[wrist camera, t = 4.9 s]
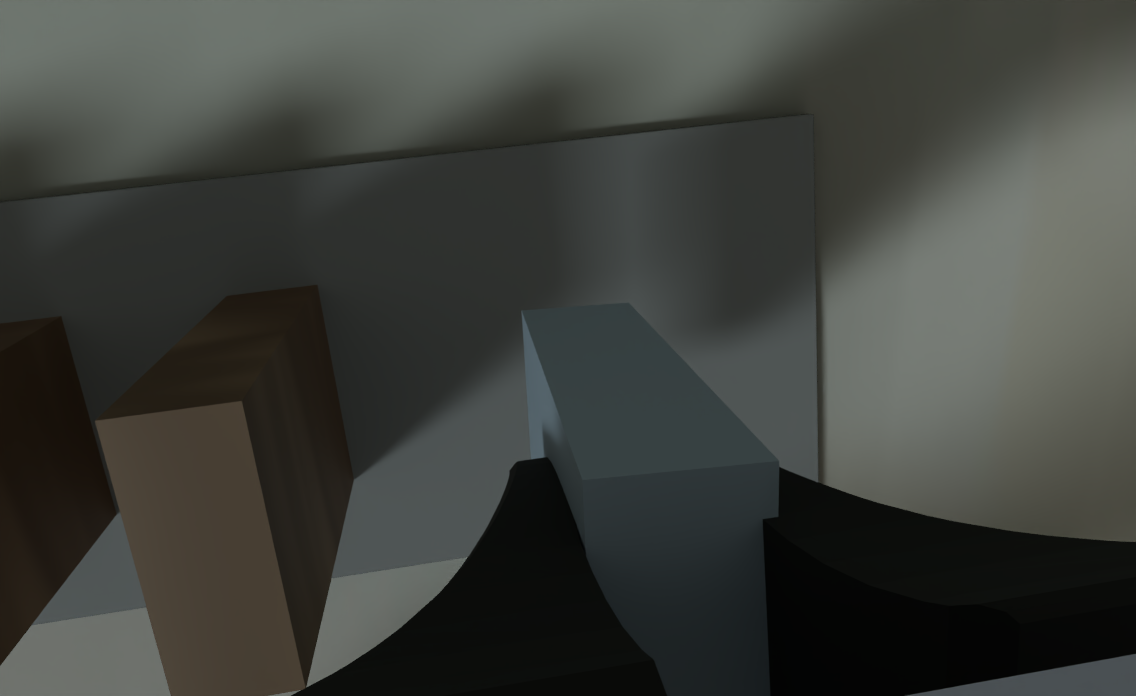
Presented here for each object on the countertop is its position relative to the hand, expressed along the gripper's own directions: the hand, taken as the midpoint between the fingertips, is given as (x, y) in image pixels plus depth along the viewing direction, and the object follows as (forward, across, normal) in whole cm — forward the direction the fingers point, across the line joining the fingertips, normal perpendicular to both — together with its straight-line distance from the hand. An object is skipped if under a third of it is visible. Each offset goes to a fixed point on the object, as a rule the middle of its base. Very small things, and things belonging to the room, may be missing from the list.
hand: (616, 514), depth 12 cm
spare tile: (+3, 0, 0) cm, 3 cm away
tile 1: (+7, +6, 0) cm, 9 cm away
